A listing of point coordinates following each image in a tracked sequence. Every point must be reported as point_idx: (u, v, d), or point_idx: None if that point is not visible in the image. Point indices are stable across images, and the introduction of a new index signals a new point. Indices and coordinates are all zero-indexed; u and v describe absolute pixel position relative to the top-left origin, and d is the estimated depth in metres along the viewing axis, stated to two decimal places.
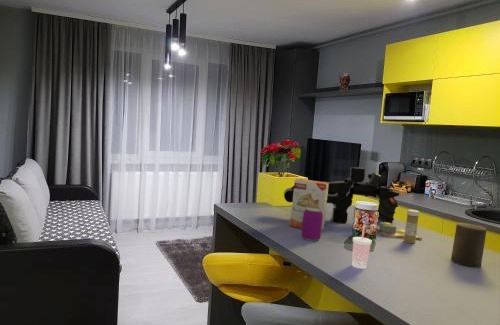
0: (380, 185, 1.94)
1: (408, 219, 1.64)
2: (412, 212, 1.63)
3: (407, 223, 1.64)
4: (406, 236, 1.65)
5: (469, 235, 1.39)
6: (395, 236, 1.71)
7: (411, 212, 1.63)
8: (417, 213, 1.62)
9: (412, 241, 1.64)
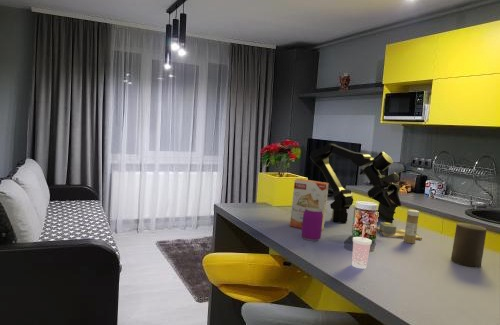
0: (396, 191, 1.75)
1: (408, 219, 1.64)
2: (412, 212, 1.63)
3: (407, 223, 1.64)
4: (406, 236, 1.65)
5: (469, 235, 1.39)
6: (395, 236, 1.71)
7: (411, 212, 1.63)
8: (417, 213, 1.62)
9: (412, 241, 1.64)
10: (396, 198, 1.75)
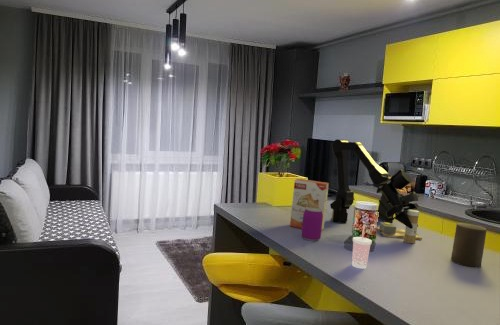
0: None
1: None
2: (412, 212, 1.63)
3: None
4: (406, 236, 1.65)
5: (469, 235, 1.39)
6: (395, 236, 1.71)
7: (411, 212, 1.63)
8: (417, 213, 1.62)
9: (412, 241, 1.64)
10: None
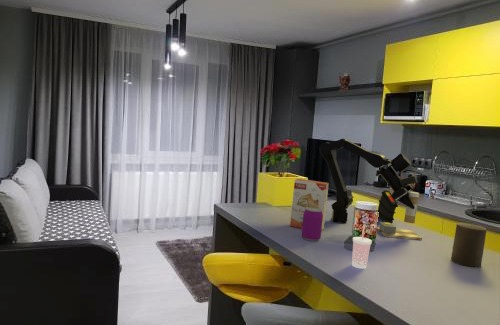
0: None
1: None
2: (414, 193, 1.71)
3: None
4: (407, 217, 1.72)
5: (469, 235, 1.39)
6: (395, 236, 1.71)
7: (413, 193, 1.71)
8: (418, 194, 1.72)
9: (413, 221, 1.72)
10: None
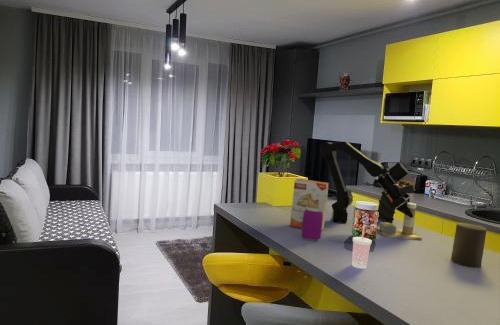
0: (409, 200, 1.79)
1: None
2: (411, 205, 1.73)
3: (406, 215, 1.74)
4: (405, 228, 1.75)
5: (469, 235, 1.39)
6: (395, 236, 1.71)
7: (411, 205, 1.73)
8: (415, 205, 1.74)
9: (411, 232, 1.74)
10: None
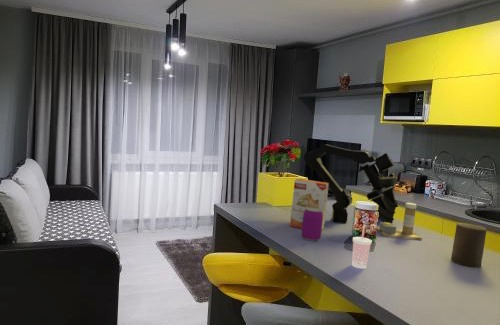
0: (392, 189, 1.84)
1: (407, 212, 1.74)
2: (412, 205, 1.73)
3: (406, 216, 1.74)
4: (405, 228, 1.75)
5: (469, 235, 1.39)
6: (395, 236, 1.71)
7: (411, 205, 1.73)
8: (415, 206, 1.73)
9: (411, 232, 1.74)
10: (391, 196, 1.85)
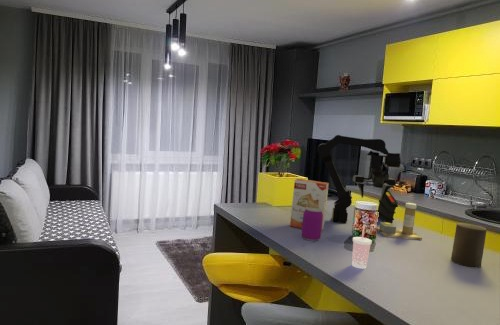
0: (385, 187, 1.85)
1: (407, 212, 1.74)
2: (412, 205, 1.73)
3: (406, 216, 1.74)
4: (405, 228, 1.75)
5: (469, 235, 1.39)
6: (395, 236, 1.71)
7: (411, 205, 1.73)
8: (415, 206, 1.73)
9: (411, 232, 1.74)
10: (383, 192, 1.87)
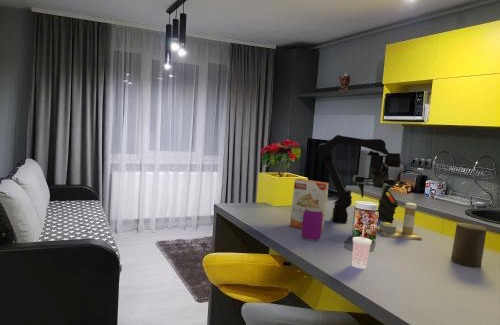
0: (385, 187, 1.85)
1: (407, 212, 1.74)
2: (412, 205, 1.73)
3: (406, 216, 1.74)
4: (405, 228, 1.75)
5: (469, 235, 1.39)
6: (395, 236, 1.71)
7: (411, 205, 1.73)
8: (415, 206, 1.73)
9: (411, 232, 1.74)
10: (383, 192, 1.87)
